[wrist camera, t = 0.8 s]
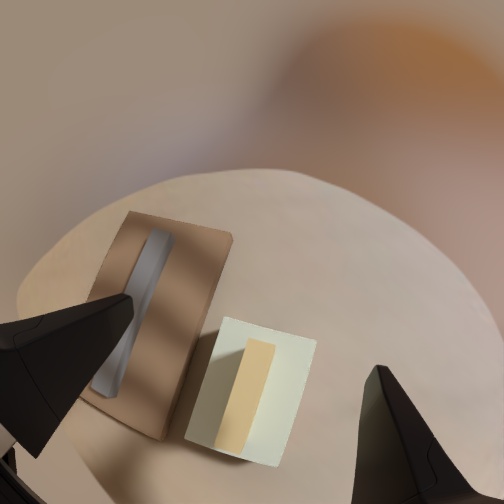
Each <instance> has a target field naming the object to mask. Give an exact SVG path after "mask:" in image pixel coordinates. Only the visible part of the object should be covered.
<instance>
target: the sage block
mask: <svg viewBox="0 0 504 504" xmlns="http://www.w3.org/2000/svg"><path fill="white" fill-rule="evenodd" d="M316 343H317V340H313V339H309V338H304V337H300V336H296V335H292V334H288V333H284V332H280V331H276V330H272V329H269V328H265V327H261V326H257V325H254V324H250V323H247V322H243V321H240V320H236V319H233V318H229V317H226V316H224V319H223V322H222V325H221V328H220V331H219V334H218V337H217V340H216V343H215V346H214V349H213V352H212V355H211V358H210V361H209V364H208V367H207V370H206V373H205V376H204V379H203V382H202V385H201V388H200V391H199V394H198V397H197V400H196V403H195V406H194V409H193V412H192V415H191V418H190V421H189V425H188V428H187V431H186V434H185V437H184V439H186V440H189V441H191V442H194V443H197V444H199V445H202V446H205V447H208V448H210V449H213V450H216V451H219V452H222V453H225V454H228V455H232V456H235V457H238V458H242V459H245V460H249V461H252V462H256V463H260V464H264V465H268V466H273V467H277V468H278V465H279V462H280V460H281V457H282V454H283V451H284V449H285V446H286V443H287V440H288V437H289V434H290V431H291V428H292V425H293V422H294V419H295V416H296V413H297V410H298V407H299V404H300V400H301V397H302V394H303V390H304V387H305V384H306V380H307V377H308V373H309V369H310V366H311V362H312V358H313V355H314V351H315V347H316Z"/></svg>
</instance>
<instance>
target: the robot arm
mask: <svg viewBox="0 0 504 504" xmlns="http://www.w3.org/2000/svg"><path fill="white" fill-rule="evenodd" d="M133 318H134V305H133V298H132V296H130V295H128V294H125V293H120V294H116V295H112V296H109V297H105V298H102V299H98V300H94V301H91V302H87V303H84V304H80V305H76V306H73V307H69V308H65V309H62V310H58V311H55V312H51V313H47V314H45V315H44V314H43V315H40V316H36V317H32V318H28V319H24V320H19V321H15V322H9V323H3V324H0V504H47V503H46V502H44V501H43V500H42V499H41V498H40V497H39V496H38V495H37V494H35V493H34V492H33V491H32V490H31V489H30V488H29V487H28V486H27V485H26V484H25V483H24V482H23V481H22V480H21V479H20V478H19V477H18V476H17V475H16V474H17V469H16V460H15V449H14V448H13V447H12V446H13V445H14V444H15V443H16V442H18V443H19V444H20V445H21V446H22V447H23V448H25V449H26V450H27V451H28V452H29V453H30V454H31V455H32V456H33V457H34V458H35V459H36V458H37V457H38V456H39V454H40V453H41V451H42V450H43V448H44V447H45V445H46V444H47V442H48V441H49V439H50V438H51V436H52V434H53V433H54V432H55V430H56V429H57V427H58V426H59V424H60V422H61V421H62V420H63V418H64V417H65V416H66V414H67V413H68V411H69V410H70V408H71V407H72V406H73V404H74V403H75V401H76V400H77V399H78V397H79V396H80V394H81V393H82V392H83V390H84V389H85V387H86V386H87V385H88V383H89V382H90V381H91V379H92V378H93V377H94V375H95V374H96V373H97V371H98V370H99V369H100V367H101V366H102V365H103V363H104V362H105V361H106V359H107V358H108V357H109V355H110V354H111V353H112V351H113V350H114V349H115V347H116V346H117V344H118V343H119V341H120V339H121V338H122V336H123V334H124V333H125V331H126V330H127V328H128V326H129V325H130V323H131V322H132V320H133ZM351 504H504V500H501V499H497V498H493V497H489V496H485V495H482V494H480V493H478V492H477V491H475V490H474V489H473V488H472V487H471V486H470V485H469V483H468V482H467V481H466V479H465V478H464V477H463V475H462V474H461V473H460V472H459V470H458V469H457V468H456V466H455V465H454V464H453V462H452V461H451V460H450V458H449V457H448V456H447V454H446V453H445V451H444V450H443V448H442V447H441V445H440V444H439V442H438V441H437V439H436V438H435V437H434V435H433V433H432V431H431V430H430V428H429V427H428V425H427V424H426V422H425V421H424V419H423V418H422V416H421V415H420V413H419V412H418V410H417V409H416V407H415V406H414V404H413V403H412V401H411V400H410V398H409V397H408V395H407V394H406V392H405V391H404V390H403V388H402V387H401V385H400V384H399V382H398V381H397V379H396V378H395V377H394V375H393V374H392V372H391V371H390V369H389V368H388V367H387V366H383V365H376V366H375V367H374V368H373V370H372V372H371V373H370V375H369V377H368V378H367V380H366V382H365V386H364V394H363V401H362V408H361V414H360V420H359V431H358V447H357V459H356V469H355V478H354V487H353V494H352V501H351Z"/></svg>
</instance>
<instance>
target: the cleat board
mask: <svg viewBox="0 0 504 504" xmlns="http://www.w3.org/2000/svg"><path fill="white" fill-rule="evenodd" d="M232 243H233V238H232V234H231V233H230V232H225V231H221V230H216V229H212V228H207V227H203V226H198V225H194V224H189V223H184V222H180V221H175V220H171V219H166V218H161V217H157V216H152V215H147V214H142V213H138V212H133V211H129V213H128V215H127V217H126V218H125V220H124V222H123V224H122V226H121V228H120V230H119V232H118V234H117V236H116V238H115V240H114V242H113V244H112V246H111V248H110V250H109V252H108V254H107V256H106V258H105V260H104V263H103V265H102V267H101V269H100V271H99V274H98V276H97V278H96V281H95V283H94V285H93V288H92V290H91V292H90V295H89V297H88V300H87V302H91V301H94V300H98V299H102V298H105V297H109V296H112V295H116V294H120V293H125V294H128V295H130V296H132V298H133V305H134V318H133V320H132V322H131V323H130V325H129V326H128V328H127V330H126V331H125V333H124V334H123V336H122V338H121V339H120V341H119V343H118V344H117V346H116V347H115V349H114V350H113V351H112V353H111V354H110V355H109V357H108V358H107V359H106V361H105V362H104V363H103V365H102V366H101V367H100V369H99V370H98V371H97V373H96V374H95V375H94V377H93V378H92V379H91V381H90V382H89V383H88V385H87V386H86V387H85V389H84V390H83V392H82V393H81V394H80V396H81V397H82V398H84V399H85V400H87V401H88V402H90V403H91V404H93V405H94V406H96V407H97V408H99V409H101V410H102V411H104V412H105V413H107V414H109V415H110V416H112V417H114V418H116V419H117V420H119V421H121V422H123V423H124V424H126V425H128V426H130V427H132V428H134V429H136V430H138V431H139V432H141V433H143V434H145V435H147V436H149V437H152V438H154V439H156V440H158V441H160V440H163V439H165V438H166V435H167V432H168V429H169V426H170V422H171V419H172V416H173V413H174V410H175V407H176V404H177V401H178V398H179V395H180V392H181V389H182V386H183V383H184V380H185V377H186V374H187V371H188V368H189V365H190V362H191V359H192V356H193V353H194V350H195V347H196V344H197V341H198V338H199V335H200V332H201V329H202V327H203V324H204V321H205V318H206V315H207V312H208V309H209V307H210V304H211V301H212V298H213V295H214V292H215V290H216V287H217V284H218V281H219V278H220V276H221V273H222V270H223V267H224V265H225V262H226V259H227V256H228V254H229V251H230V248H231V245H232ZM87 302H86V303H87Z"/></svg>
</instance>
